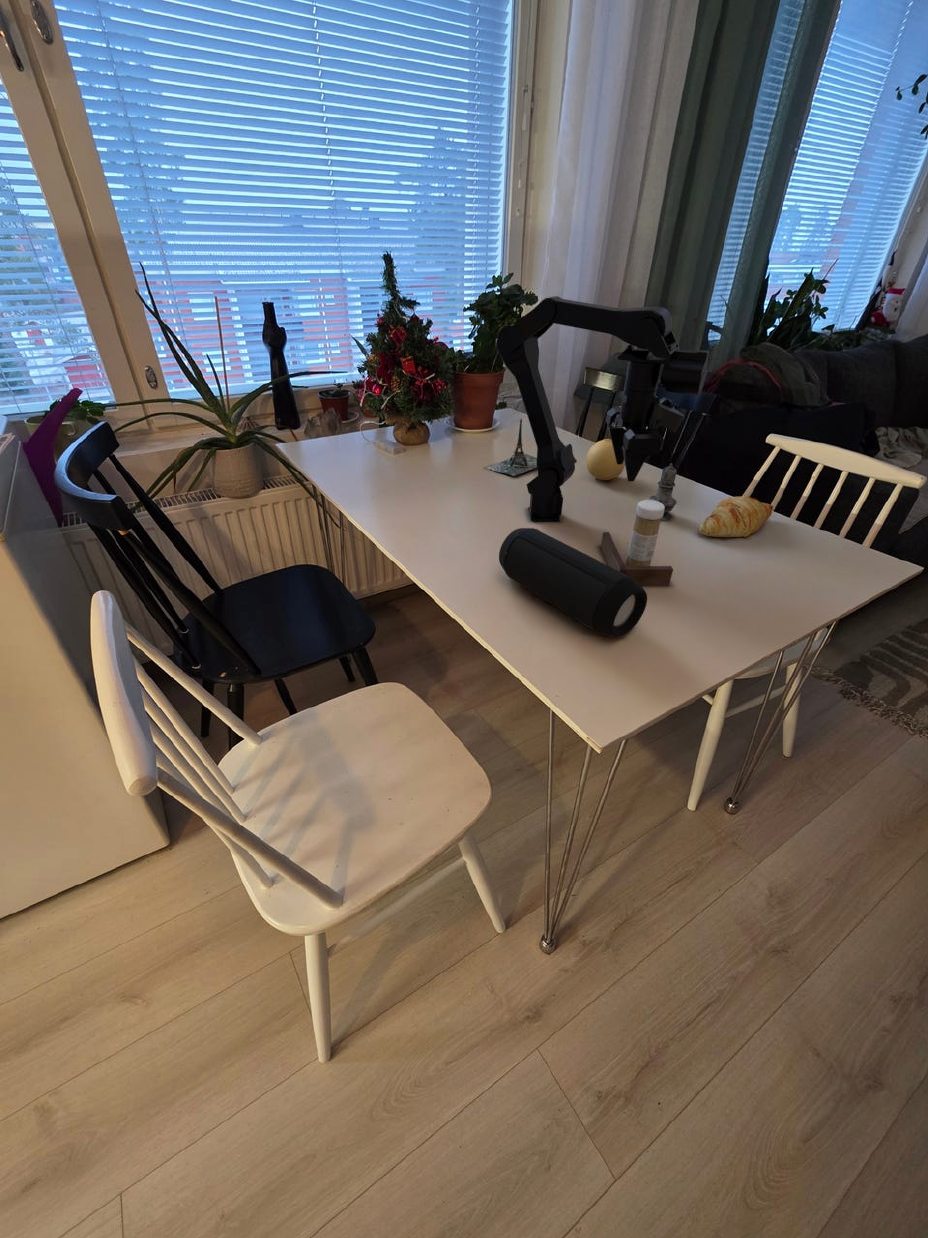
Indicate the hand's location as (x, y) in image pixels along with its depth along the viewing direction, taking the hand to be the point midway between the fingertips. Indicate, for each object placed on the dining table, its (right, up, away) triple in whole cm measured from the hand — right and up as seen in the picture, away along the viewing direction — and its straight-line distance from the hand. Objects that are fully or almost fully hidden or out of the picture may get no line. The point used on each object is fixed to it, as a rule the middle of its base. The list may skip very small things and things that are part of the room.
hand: (625, 472), depth 104 cm
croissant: (+26, -9, +9) cm, 29 cm away
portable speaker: (-15, -27, -14) cm, 33 cm away
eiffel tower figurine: (-17, +12, +39) cm, 45 cm away
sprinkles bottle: (0, -20, -5) cm, 21 cm away
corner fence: (0, -19, -4) cm, 19 cm away
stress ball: (+4, +7, +32) cm, 33 cm away
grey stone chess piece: (+12, -6, +14) cm, 19 cm away
